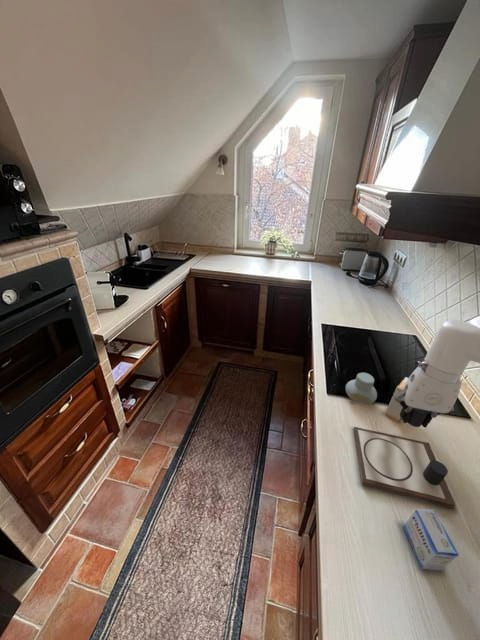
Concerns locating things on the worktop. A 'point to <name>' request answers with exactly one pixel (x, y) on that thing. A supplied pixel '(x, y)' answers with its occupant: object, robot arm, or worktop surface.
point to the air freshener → (362, 389)
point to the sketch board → (398, 466)
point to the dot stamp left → (417, 417)
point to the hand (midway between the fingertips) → (412, 420)
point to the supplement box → (396, 403)
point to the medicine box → (429, 540)
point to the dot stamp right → (435, 472)
